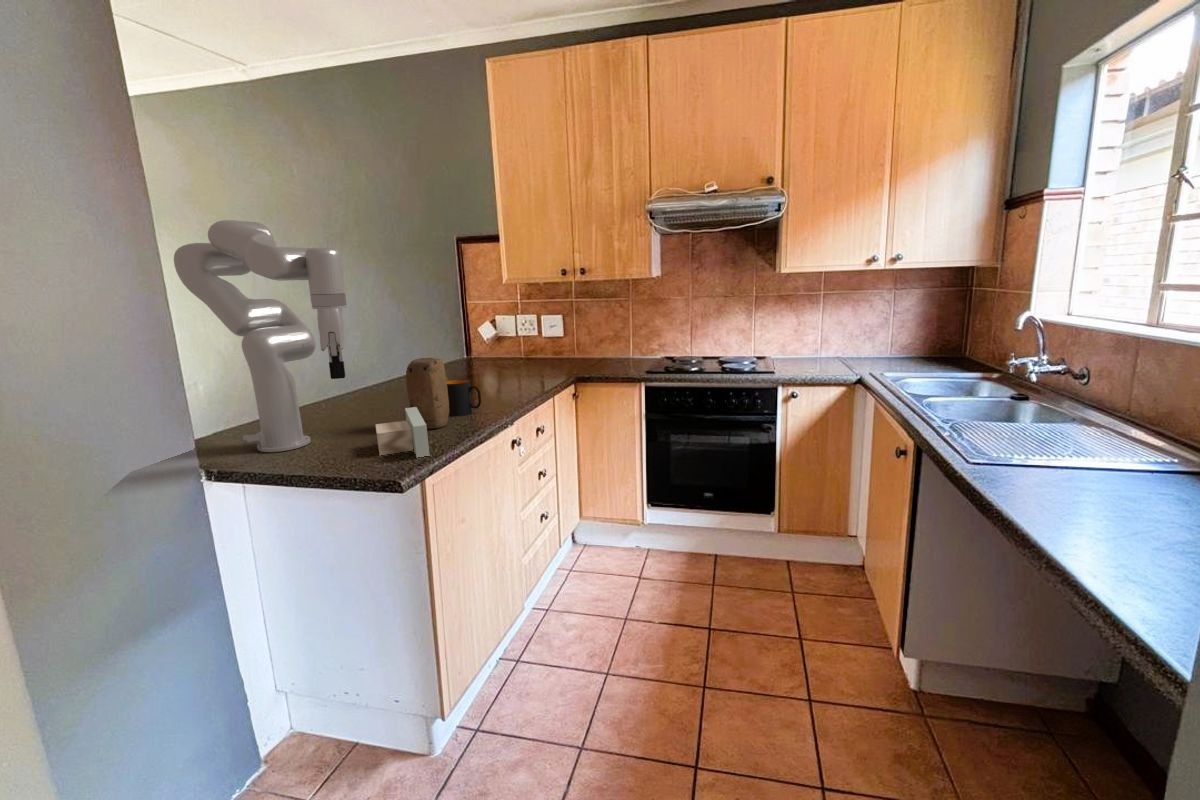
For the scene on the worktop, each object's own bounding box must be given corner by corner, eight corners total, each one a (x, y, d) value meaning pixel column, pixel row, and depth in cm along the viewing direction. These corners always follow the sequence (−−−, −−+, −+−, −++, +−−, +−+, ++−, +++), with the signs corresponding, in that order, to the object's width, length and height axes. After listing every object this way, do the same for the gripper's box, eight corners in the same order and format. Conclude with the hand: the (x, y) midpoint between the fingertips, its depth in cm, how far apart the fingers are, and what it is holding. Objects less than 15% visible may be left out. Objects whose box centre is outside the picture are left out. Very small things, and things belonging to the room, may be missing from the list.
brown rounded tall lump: (453, 424, 167) (446, 357, 163) (437, 430, 161) (430, 361, 156) (423, 421, 171) (416, 356, 167) (407, 428, 164) (399, 360, 160)
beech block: (379, 456, 139) (377, 433, 138) (378, 446, 148) (375, 424, 147) (413, 451, 142) (411, 429, 141) (409, 441, 151) (407, 420, 150)
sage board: (417, 458, 136) (413, 426, 135) (408, 436, 156) (405, 408, 154) (429, 456, 137) (426, 424, 136) (419, 434, 157) (416, 406, 155)
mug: (477, 416, 175) (474, 384, 173) (441, 416, 178) (438, 384, 175) (487, 410, 183) (484, 379, 181) (452, 410, 185) (449, 379, 183)
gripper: (313, 300, 138) (322, 374, 143) (308, 304, 125) (319, 385, 129) (346, 299, 141) (355, 371, 145) (345, 302, 128) (354, 382, 132)
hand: (338, 377), depth 137 cm, fingers closed
